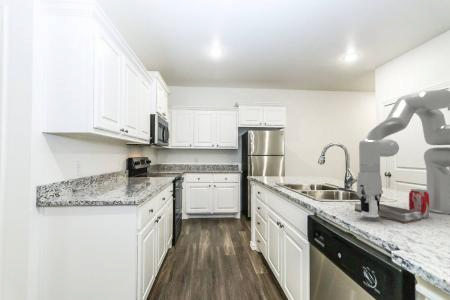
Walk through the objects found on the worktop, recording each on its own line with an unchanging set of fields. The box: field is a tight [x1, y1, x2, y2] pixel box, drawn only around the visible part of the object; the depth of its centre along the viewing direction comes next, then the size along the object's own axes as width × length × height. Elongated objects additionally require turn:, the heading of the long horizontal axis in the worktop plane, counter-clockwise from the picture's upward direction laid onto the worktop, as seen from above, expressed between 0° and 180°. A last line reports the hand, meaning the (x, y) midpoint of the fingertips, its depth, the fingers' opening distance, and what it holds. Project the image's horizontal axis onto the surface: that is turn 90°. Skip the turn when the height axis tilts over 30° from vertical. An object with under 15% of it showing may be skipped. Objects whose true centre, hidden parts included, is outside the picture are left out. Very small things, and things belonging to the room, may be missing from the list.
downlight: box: [359, 194, 380, 218], centre depth 99 cm, size 8×7×10 cm
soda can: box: [408, 188, 430, 219], centre depth 104 cm, size 7×7×12 cm
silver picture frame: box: [354, 202, 423, 224], centre depth 105 cm, size 12×22×4 cm, turn 23°
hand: (370, 210), depth 98 cm, fingers closed on downlight, 5 cm apart
